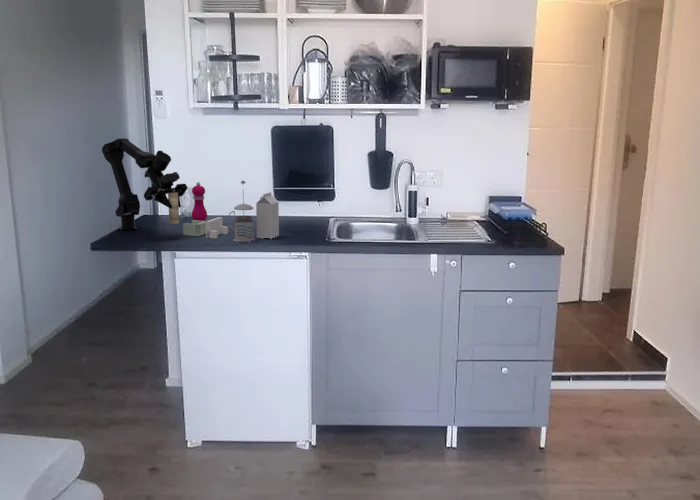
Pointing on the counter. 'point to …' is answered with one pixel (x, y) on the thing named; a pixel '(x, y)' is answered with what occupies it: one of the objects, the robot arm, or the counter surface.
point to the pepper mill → (199, 203)
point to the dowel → (173, 208)
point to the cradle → (194, 228)
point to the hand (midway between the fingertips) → (175, 207)
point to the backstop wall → (215, 228)
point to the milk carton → (267, 217)
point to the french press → (247, 223)
